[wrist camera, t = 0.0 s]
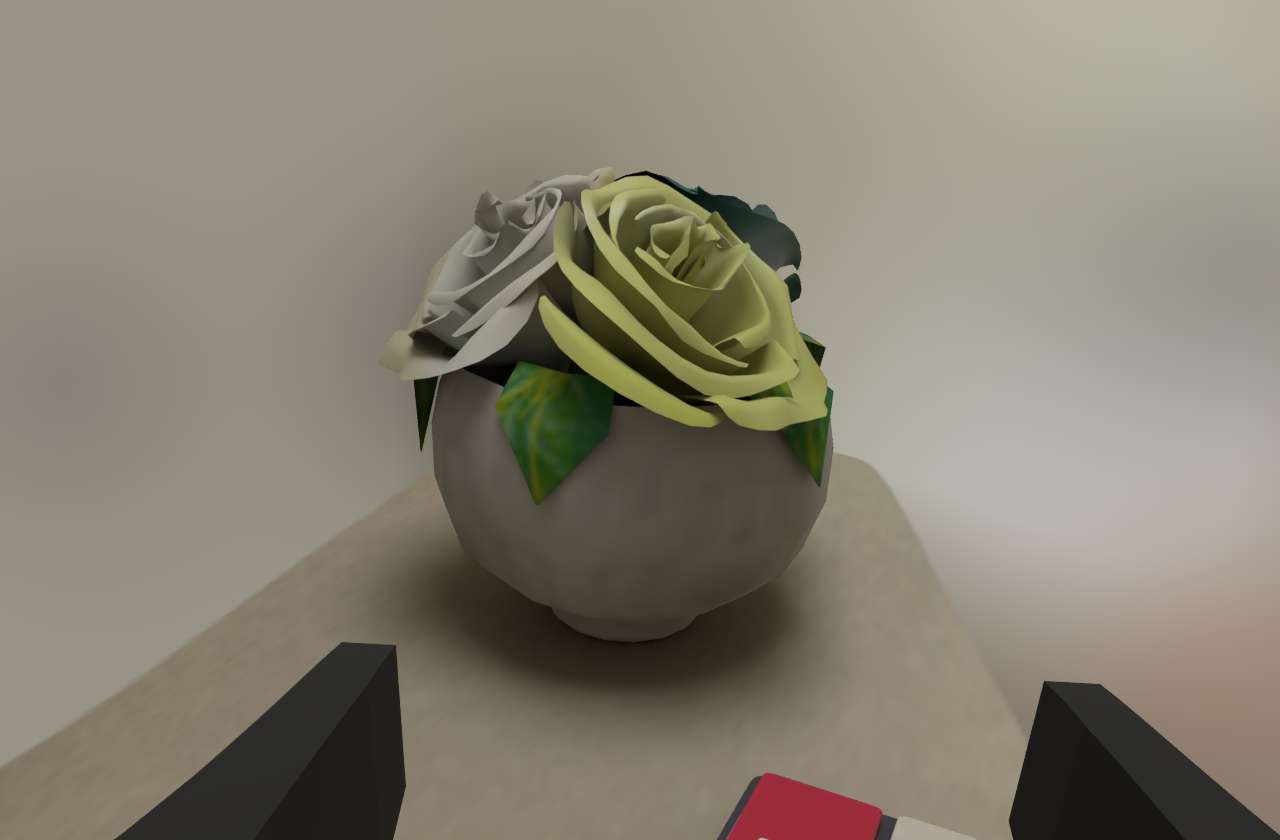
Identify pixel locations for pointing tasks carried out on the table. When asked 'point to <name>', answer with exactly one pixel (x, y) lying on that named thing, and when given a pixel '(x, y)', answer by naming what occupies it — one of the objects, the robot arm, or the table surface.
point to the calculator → (817, 816)
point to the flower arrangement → (622, 399)
